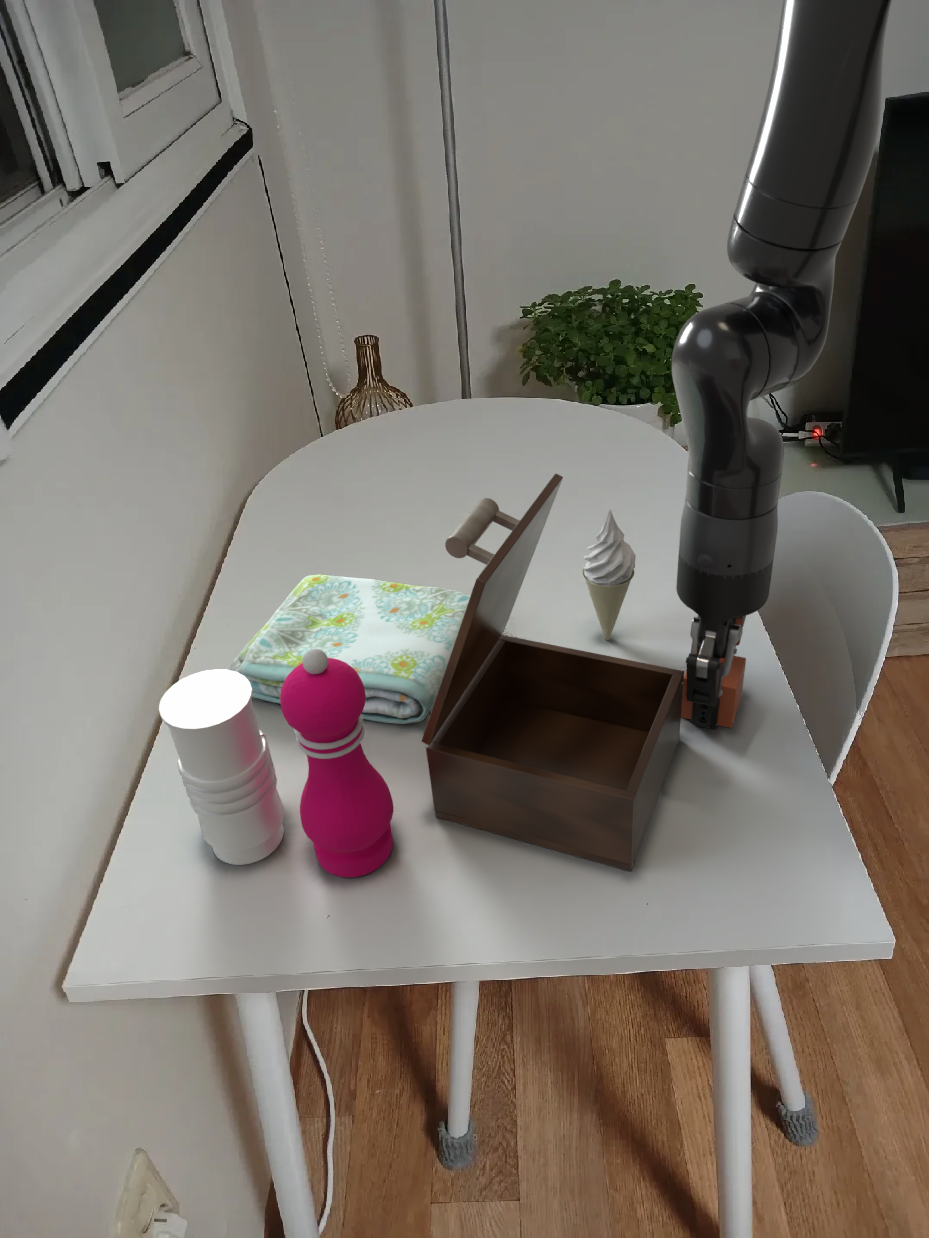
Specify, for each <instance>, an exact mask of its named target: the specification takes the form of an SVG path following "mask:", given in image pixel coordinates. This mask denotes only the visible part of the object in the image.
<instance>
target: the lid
mask: <svg viewBox="0 0 929 1238" xmlns="http://www.w3.org/2000/svg"><path fill="white" fill-rule="evenodd" d="M563 479H564V478H563V476H562V475H561V474H558V473H554V474H553V476H552V477H551V478H550V480H549V481H548V482H547V484H546V485H545V486H544V488H543V489H542V490H541V492H540V493H539V494H538V496H537V498H536V499H534V501H533V502H532V504H531V505H530V506H529V508H528V509H527V511H526V512H525V513H524V515H523V516H522V517H521V518H520V520H519V519H517V518H515V517H513V516H511V515H509V514H507V513H505V512H504V511H501V510H500V508H499V505H498V503H497V502H496V501H495V500H493V499H492V498H489V497H483V498H481V499H479V500H478V502H477V503H476V504H475V505H473V507H472V509H471V510H470V511H469V512H468V513H467V515H466V516H465V517H464V518H463V520H462V521H460V523H459V524H458V525H457V527H456V528H455V529H454V530H452V533H450V535H449V536H448V537H447V538H446V539H445V542H444V546H445V547H444V548H445V550H446V551H447V553H448V554H449V555H450V556H451V557H453V558H455V559H463V558H465V557H466V556H467V557H470V558H471V559H474V560H476V561H477V562H480V563H482V564H484V565H485V567H484V568H483V569H482V571H481V572H480V573H479V574H478V575H477V577H476V579H475V581H474V584H473V588H472V591H471V593H470V595H471V596H470V599H469V602H468V605H467V608H466V611H465V614H464V617H463V620H462V623H461V626H460V629H459V632H458V634H457V637H456V640H455V643H454V646H453V649H452V652H451V655H450V658H449V661H448V664H447V667H446V670H445V673H444V676H443V679H442V682H441V685H440V688H439V691H438V694H437V697H436V699H435V702H434V705H433V708H432V710H431V711H430V715H429V718H428V720H427V723H426V726H425V729H424V732H423V735H422V739H421V743H423V744H425V745H426V746H427V745H430V743H431V742H432V740H433V739H434V737H435V736H436V734H437V733H438V731H439V729H440V728H441V726H442V725H443V723H444V722H445V720H446V719H447V717H448V716H449V714H450V713H451V711H452V710H453V708H454V707H455V705H456V704H457V702H458V701H459V699H460V698H461V696H462V695H463V693H464V692H465V690H466V688H467V687H468V685H469V684H470V682H471V681H472V679H473V678H474V676H475V675H476V673H477V672H478V670H479V669H480V667H481V666H482V664H483V663H484V661H485V660H486V658H487V657H488V655H489V654H490V652H491V650H492V649H493V647H494V646H495V644H496V643H497V641H498V640H499V638H500V637H501V635H504V632H505V630H506V627H507V624H508V622H509V620H510V616H511V614H512V611H513V610H514V609H513V608H514V606H515V604H516V601H517V598H518V596H519V594H520V591H521V588H522V585H523V583H524V581H525V577H526V575H527V572H528V570H529V567H530V566H531V565H530V564H531V563H532V560H533V557H534V555H535V552H536V549H537V547H538V544H539V541H540V539H541V537H542V534H543V531H544V529H545V526H546V523H547V520H548V518H549V516H550V513H551V511H552V508H553V506H554V502H555V500H556V497H557V495H558V492H559V488H560V487H561V485H562V482H563ZM493 523H495V524H497V525H499V526H502V528H504V529H505V528H506V529H507V530H509V531H511V532H510V533H509V534H508V535H507V537H506V538H505V540H504V542H503V543H502V544H501V545H500V547H499V548H498V549H497V550H496V552H495V554H494V553H492V552H490V551H488V550H486V549H484V548H482V547H480V546H478V545H476V544H477V543H478V541H479V540H480V539H481V538H482V536H483V535H484V534H485V533H486V531H487V530H488V529H489V528H490V526H491V525H492V524H493Z"/></svg>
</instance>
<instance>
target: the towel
mask: <svg viewBox="0 0 929 1238" xmlns="http://www.w3.org/2000/svg"><path fill="white" fill-rule="evenodd" d="M470 596H471V594H465V593H463V592H461V591H459V590H455V589H450V588H442V587H438V586H437V587H435V586H426V585H425V586H424V585H413V584H408V583H400V582H393V581H386V580H381V579H380V580H379V579H373V578H364V577H363V578H362V577H361V578H360V577H349V576H342V575H341V576H340V575H339V576H338V575H331V574H330V575H329V574H314V575H311V574H310V575H306V576H304V578H303V579H301V580H300V581H299V582H298V584H297V585H296V586H295V587H294V589H292V591H291V592H290V593H289V594H288V596H287V597H286V598H285V599H284V601H283V602H282V603H281V605H280V606H279V607H278V608H277V609H276V611H275V612H274V613H272V615H271V617H270V618H269V619H268V620H267V622H266V623H265V624H264V625H263V626H262V627H261V628H260V629H259V630H258V631H257V632H256V633H255V635H254V636H252V638H251V639H250V640H249V641H248V642H247V644H245V646H244V647H243V649H241V651H240V652H239V653H238V654H237V656H236V657H235V658H234V659H233V660H232V662H231V665H230V666H229V670H231V671H235V672H238V673H240V674H242V675H244V676H245V677H246V678H247V679H248V680H249V682H250V685H251V688H252V691H253V694H252V698H255V699H259V700H262V701H267V702H270V703H275V704H280V693H281V688H282V685H283V683H284V681H285V679H286V677H287V676H288V675H289V674H290V672H291V671H292V670H293V669H294V668H296V667H297V666H298V665H300V664H302V660H303V656H304V655H305V653H306V652H307V651H309V650H311V649H320V650H322V651H323V652H325V654H326V655H327V657H328V658H334V659H338V660H341V661H343V662H345V663H347V664H348V665H350V666H351V667H353V668H354V669H355V671H356V672H357V673H358V675H359V676H360V678H361V680H362V682H363V685H364V689H365V696H366V699H365V706H364V709H363V711H362V713H361V714H362V716H363V720H367V721H372V722H379V723H387V724H395V725H396V724H397V725H399V724H401V725H405V724H406V725H407V724H412V723H419V722H422V721H423V720H424V719H425V718H426V717H427V716H428V714H429V713H431V711H432V708H433V705H434V702H435V699H436V697H437V694H438V691H439V688H440V685H441V682H442V679H443V676H444V673H445V670H446V667H447V664H448V661H449V658H450V655H451V652H452V649H453V646H454V643H455V640H456V637H457V634H458V632H459V629H460V626H461V623H462V620H463V617H464V614H465V611H466V608H467V605H468V602H469V599H470ZM280 705H281V704H280Z"/></svg>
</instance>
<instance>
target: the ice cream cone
mask: <svg viewBox="0 0 929 1238" xmlns="http://www.w3.org/2000/svg"><path fill="white" fill-rule="evenodd" d="M595 538H596V543H595V544H593V545H589V546H587V550H589V551H591V553H590V554H587V555H584V556H583V559H584V561H587V562H586V563H585V564H584V566H583V568H582V570H581V575H582V577H583V579H584V581H585V584H586V587H587V590H588V592H589V596H590V599H591V602H592V605H593V608H594V611H595V614H596V617H597V620H598V623H599V626H600V628H601V632H602V635H603V638H604V640H606V641H609V640H610V639H611V636H612V633H613V630H614V628H615V626H616V623H617V619H618V617H619V615H620V613H621V612H620V611H621V609H622V605H623V603H624V600H625V597H626V595H627V592H628V590H629V586H630V584H631V581H632V579H633V578H634V577H635V568H636V558H637V557H636V554H635V552H634V550H633V548H632V546H631V545H630V544H629V543H627V542H626V541H625V540H624V539H625V534H624V532H623V531H622V530H621V528H620V527H619V526H618V523H617V522H616V520H615V517H614V514H613V513H612V510H611V509H609V511H608V512H607V515H606V516H605V519H604V521H603V523H602V525H601V527H600V528H599V529H598V531H597V534H596V535H595Z"/></svg>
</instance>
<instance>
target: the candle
mask: <svg viewBox="0 0 929 1238" xmlns="http://www.w3.org/2000/svg"><path fill="white" fill-rule="evenodd" d="M252 694H253V691H252V688H251V685H250V682H249V680H248V679H247V678H246V677H245V676H244V675H242V674H240V673H238V672H235V671H231V670H230V669H224V668H222V669H219V668H214V669H206V670H201V671H199V672H195V673H192V674H189V675H188V676H186V677H183V678H181V679H180V680H178V681H177V682H175V683H174V684H173V685H171V686H170V687H169V688H168V689H167V690H166V691H165V692H164V694H163V696H162V697H161V698H160V701H159V705H158V710H159V715H160V718H161V720H162V722H163V723H164V724H165V726H167V727H168V730H169V733H170V735H171V738H172V742H173V744H174V747H175V750H176V753H177V756H178V759H177V768H178V773H179V775H180V776H181V781H182V785H183V786H184V788H185V793H186V795H187V796H186V797H187V798H188V800H189V804H190V806H191V809H192V810H193V812H194V813H195V814H196V815H197V818H198V822H199V823H198V824H199V827H200V833H201V837H202V838H203V840H204V841H205V842H206V844H208V845H209V846H210V847H212V851H213V853H214V855H215V856H216V857H217V859H219V860H220V861H222V862H223V863H225V864H230V865H236V866H245V865H251V864H253V863H256V862H259V861H261V860H263V859H265V858H266V857H269V856H270V855H271V854H272V853H273V852H274V851H275V850H276V849H277V848H278V847H279V846H280V844H281V843H282V840H283V838H284V833H285V827H284V824H283V821H284V819H285V808H284V805H283V801H282V799H281V796H280V794H279V791H278V789H277V788H278V787H277V786H278V785H277V784H278V778H277V775H276V770H275V767H274V766H275V765H274V762H273V759H272V755H271V751H270V746H269V743H268V739H267V735H266V734H265V732H263V731H262V730H261V729H260V728H259V724H258V720H257V716H256V712H255V710H254V709H255V708H254V705H253V702H252V701H253V697H252Z"/></svg>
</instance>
